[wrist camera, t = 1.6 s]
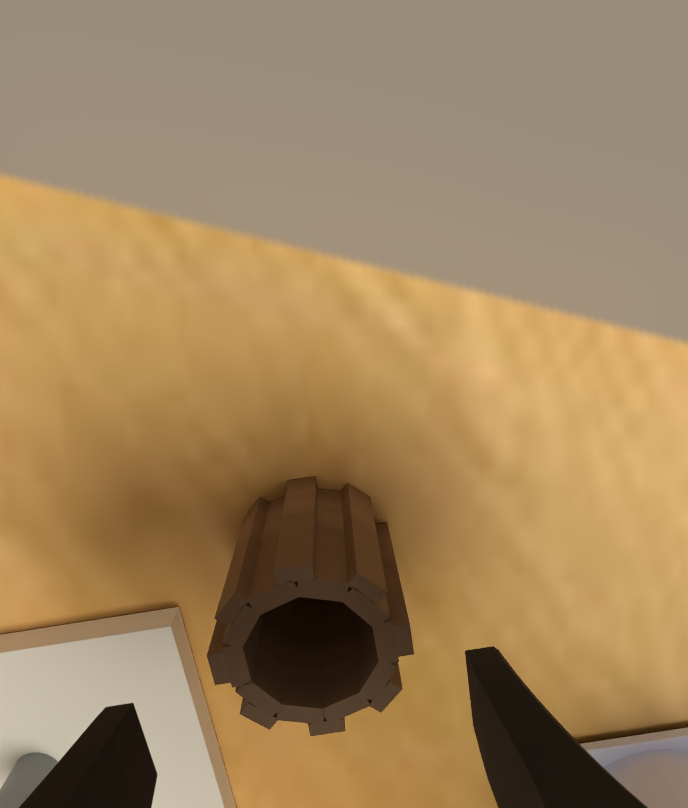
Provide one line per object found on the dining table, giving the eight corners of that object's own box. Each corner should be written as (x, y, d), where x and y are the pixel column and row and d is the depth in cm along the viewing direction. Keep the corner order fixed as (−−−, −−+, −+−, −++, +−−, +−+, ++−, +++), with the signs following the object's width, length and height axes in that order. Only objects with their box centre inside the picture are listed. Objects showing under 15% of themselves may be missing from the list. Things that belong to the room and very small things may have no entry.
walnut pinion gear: (378, 466, 17) (399, 550, 12) (398, 597, 19) (423, 718, 14) (225, 490, 17) (186, 583, 13) (256, 619, 19) (232, 747, 14)
